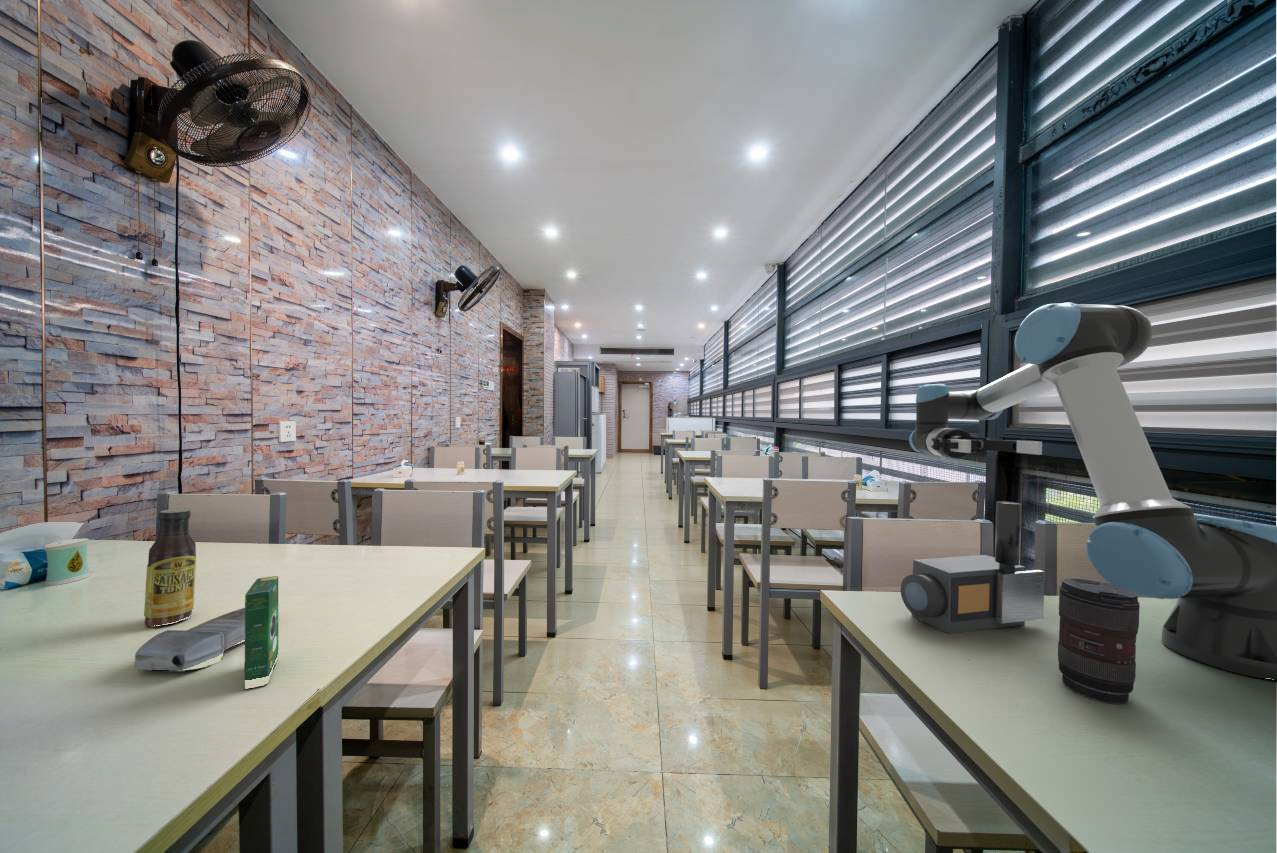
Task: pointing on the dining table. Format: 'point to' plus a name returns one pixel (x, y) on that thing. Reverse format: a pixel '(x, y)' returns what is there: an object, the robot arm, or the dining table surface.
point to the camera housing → (955, 592)
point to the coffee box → (261, 628)
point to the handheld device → (191, 643)
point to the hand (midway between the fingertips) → (1004, 447)
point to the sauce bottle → (171, 570)
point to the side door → (1015, 588)
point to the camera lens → (1098, 639)
